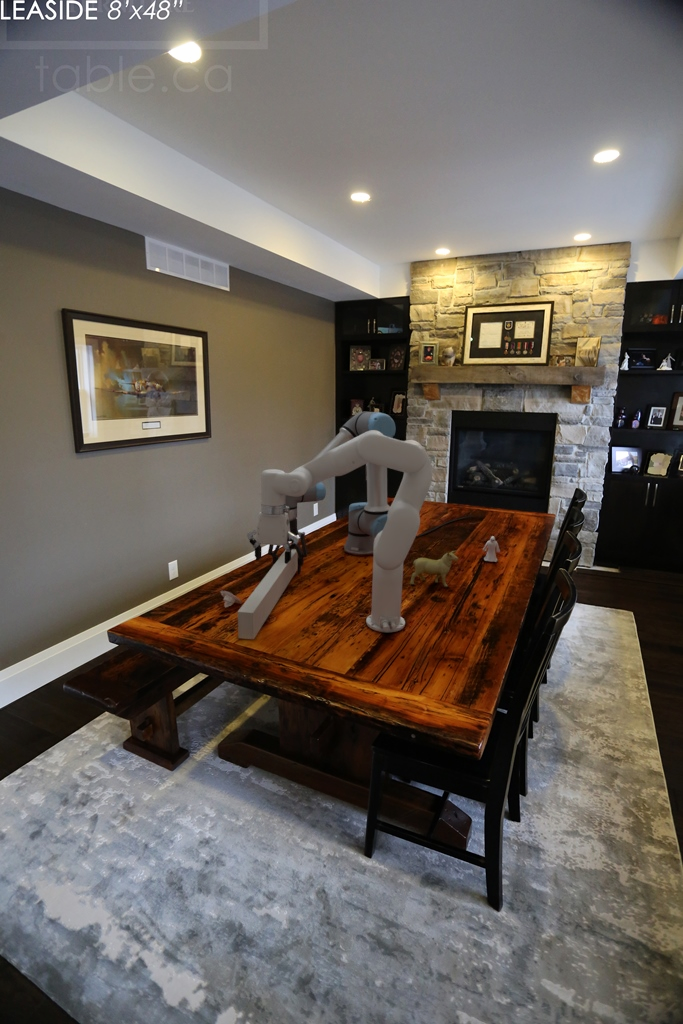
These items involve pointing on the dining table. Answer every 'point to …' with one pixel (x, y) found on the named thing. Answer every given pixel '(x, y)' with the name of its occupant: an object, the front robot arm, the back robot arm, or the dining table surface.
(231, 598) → the seashell
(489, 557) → the figurine
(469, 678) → the dining table surface
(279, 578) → the beam
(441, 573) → the toy
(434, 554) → the dining table surface
